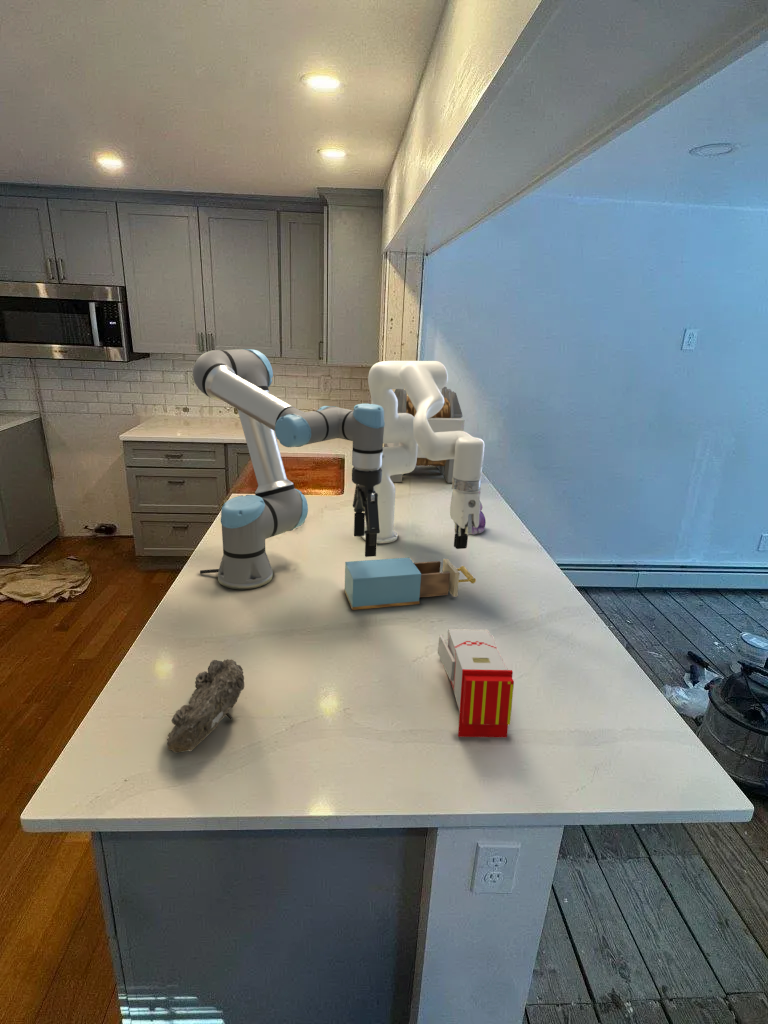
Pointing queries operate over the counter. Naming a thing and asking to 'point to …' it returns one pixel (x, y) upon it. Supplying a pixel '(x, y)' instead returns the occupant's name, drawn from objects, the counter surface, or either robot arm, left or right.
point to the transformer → (433, 428)
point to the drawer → (441, 578)
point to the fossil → (206, 705)
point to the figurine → (480, 521)
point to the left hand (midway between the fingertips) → (364, 545)
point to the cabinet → (382, 583)
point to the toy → (478, 682)
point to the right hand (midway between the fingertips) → (460, 547)
